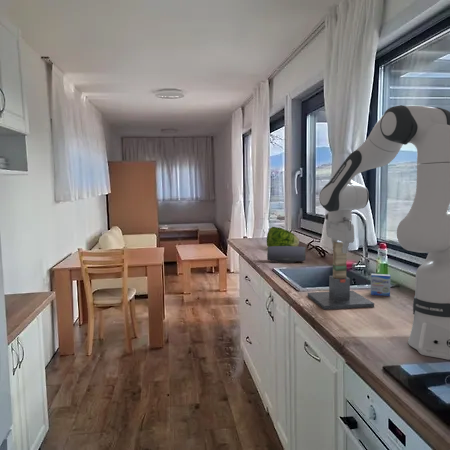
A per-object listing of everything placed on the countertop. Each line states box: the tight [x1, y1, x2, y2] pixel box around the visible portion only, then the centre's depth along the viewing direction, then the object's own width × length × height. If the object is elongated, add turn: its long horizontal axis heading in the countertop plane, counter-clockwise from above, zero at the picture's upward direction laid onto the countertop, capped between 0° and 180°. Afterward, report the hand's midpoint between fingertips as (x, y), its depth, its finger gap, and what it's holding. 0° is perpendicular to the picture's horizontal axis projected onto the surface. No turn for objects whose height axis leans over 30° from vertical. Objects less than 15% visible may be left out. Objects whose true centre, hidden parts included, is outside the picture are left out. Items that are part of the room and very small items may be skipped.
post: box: [332, 241, 348, 279], centre depth 172 cm, size 4×4×16 cm
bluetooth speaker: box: [266, 245, 307, 264], centre depth 260 cm, size 23×9×10 cm, turn 80°
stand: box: [307, 275, 375, 311], centre depth 173 cm, size 20×20×10 cm
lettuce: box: [266, 226, 300, 248], centre depth 308 cm, size 17×23×16 cm
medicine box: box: [370, 273, 392, 297], centre depth 183 cm, size 8×4×9 cm, turn 70°
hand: (339, 251), depth 171 cm, fingers open, 8 cm apart
